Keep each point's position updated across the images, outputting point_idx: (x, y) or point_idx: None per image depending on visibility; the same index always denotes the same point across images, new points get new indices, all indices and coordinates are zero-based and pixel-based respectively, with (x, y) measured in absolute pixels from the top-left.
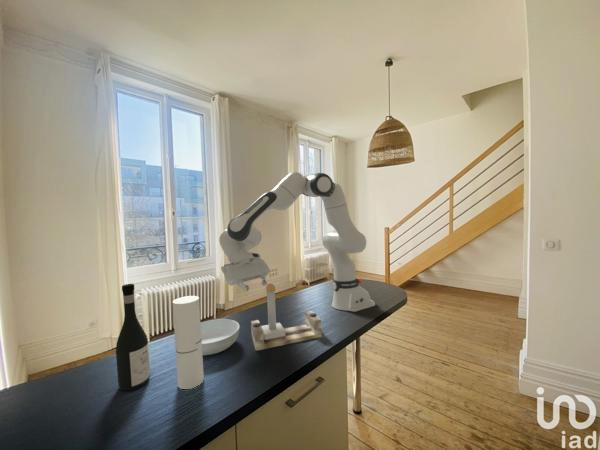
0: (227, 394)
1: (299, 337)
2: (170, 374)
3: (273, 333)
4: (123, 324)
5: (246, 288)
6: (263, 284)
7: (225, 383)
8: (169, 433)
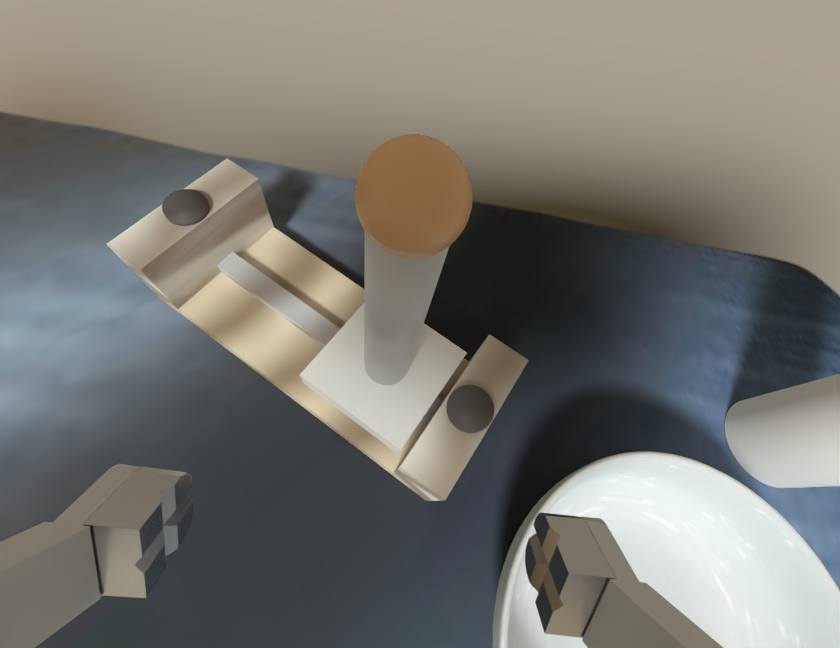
0: (689, 296)
1: (328, 267)
2: (828, 570)
3: (426, 326)
4: None
5: (594, 521)
6: (180, 515)
7: (676, 336)
8: (832, 312)
